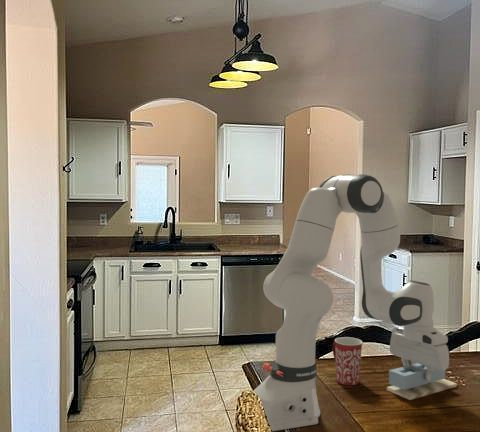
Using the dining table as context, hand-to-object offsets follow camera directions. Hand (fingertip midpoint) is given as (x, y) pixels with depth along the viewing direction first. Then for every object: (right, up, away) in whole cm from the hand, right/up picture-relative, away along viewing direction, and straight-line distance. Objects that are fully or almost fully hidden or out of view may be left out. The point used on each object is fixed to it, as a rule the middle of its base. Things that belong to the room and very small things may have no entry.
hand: (417, 376), depth 159 cm
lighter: (+6, -4, +21) cm, 23 cm away
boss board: (+2, -4, +1) cm, 5 cm away
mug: (-21, -4, +8) cm, 23 cm away
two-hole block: (0, -2, 0) cm, 2 cm away
